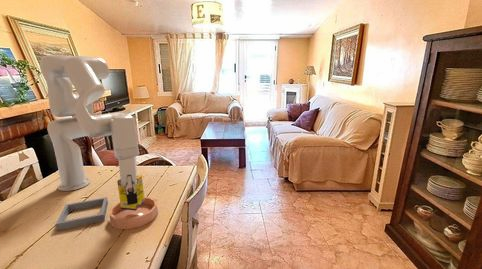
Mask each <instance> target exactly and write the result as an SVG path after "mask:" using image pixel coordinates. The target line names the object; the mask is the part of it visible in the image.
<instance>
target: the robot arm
mask: <svg viewBox="0 0 482 269" xmlns="http://www.w3.org/2000/svg"><path fill="white" fill-rule="evenodd" d="M39 70H40V72H41V74H42V77H43V78H44V80H45V82H46V85H47V95H48V96H47V97H48V105H49V110H50V113H51V115H53V116H54V117H57V118H59V119H54V120H51V121H50V122H49V123H48V124H47V128H46V129H47V133H48V135H49V137H50V141H51V143H52V145H53V150H54V154H55V158H56V164H57V168H58V174H59V178H60V179H59V180H60V183H59V184H58V185H57V190H58V191H62V192H71V191H75V190H79V189H82V188H85V187H87V186H88V185H90V182H91V180H90V178H87V177H86V174H85V168H84V161H83V157H82V156H83V155H82V151H81V148H80V145H78V144H77V143H76V142H75V141H73V139H74V140H75V139H79V138H84V137H88V138H90V139H98V138H103V137H109V136H111V138H112V145H113V153H114V158H115V159H118V168H119V175H120V179H121V187H125V186H126V191H127V194H126V196H127V204H128V205H131V204H136V203H138V200H137V192H136V190H135V185H136V184H137V175H138V168H137V167H138V166H137V158H136V157H138V156H139V155H140V151H139V144H138V134H137V126H136V119H135V117H134V115H130V114H125V113H122V112H110V113H102V114H95V115H94V104H93V103H94V102H96V101H98V100H99V99H101V98H102V97H103V96H104V94H105V90H106V89H105V87H104V85H103V83H102V82H101V80H106V79H107V78H108V77H109V75H110V68H109V66H108V63H107V62H106V61H105V60H104V59H103V58H101V57H96V56H94V57H93V56H83V55H66V54H64V55H63V54H48V55H44V56H42V58H40V62H39ZM73 87H74V88H73ZM73 89H75V91H76V92H77V93H74V92H73V91H74V90H73ZM65 117H67V118H65ZM131 176H132V179H131ZM132 181H133V183H134V184H132ZM127 183H128V185H127ZM132 186H133V188H134V189H133V188H132Z"/></svg>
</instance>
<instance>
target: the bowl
mask: <svg viewBox="0 0 482 269" xmlns="http://www.w3.org/2000/svg"><path fill="white" fill-rule="evenodd" d="M144 200H145V203H144V204H142V205H141V206H140V207H139V208H138V209H137V210H136V211H135V210H124V209H121V205H120V201H119V202H117V203H116V204H114V205H113V206H112V207H111V208H110V209H109V215H108V216H109V222H110V225H112V226H113V227H114V228H116V229H120V230H121V229H123V230H131V229H135V228H139V227H143V226H145V225H147V224H148V223H150V222H152V221H153V220H154V219H155V218H156V217H157V216H158V214H159V210H158V204H157V203H158V202H157V199H154V198H152V197H150V196H144Z"/></svg>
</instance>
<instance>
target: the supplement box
mask: <svg viewBox="0 0 482 269" xmlns="http://www.w3.org/2000/svg"><path fill="white" fill-rule="evenodd" d="M131 179H132V176H131ZM116 182H117V189H118V196H119V202H120V205H121V209H124V210H135V211H136V210H137V209H138V208H139V207H140V206H141V205H142V204H144V203H145V200H144V197H145V192H144V183H143V176H142V175H141V174H137V184H136V185H135V190H136V192H137V200H138V203H136V204H131V205H128V204H127V196H126V194H127V191H126V186H125V187H121V178H120V179H119V180H117V181H116ZM132 184H134V183H133V181H132ZM127 185H128V183H127ZM132 188H133V186H132ZM133 189H134V188H133Z"/></svg>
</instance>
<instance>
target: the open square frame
mask: <svg viewBox="0 0 482 269" xmlns="http://www.w3.org/2000/svg"><path fill="white" fill-rule="evenodd" d="M108 205H109V201H108V196H106V197H100V198H95V199H88V200H84V201H78V202H72V203H66V204H65V205H64V207H63V209H62V211H61V213H60V215H59V217H58V219H57V221H56V223H55V229H56V231H57V232H58V231H59V232H60V231H63V230H68V229H71V228H72V229H73V228H78V227H83V226H86V225H87V226H88V225H92V224H96V223H100V222H101V223H102V222H105V221H106V215H107V210H108V209H107V208H108ZM98 206H101V211H100V213H99V214H98V213H97V214H93V215H88V216H81V217H78V218H72V219H67V217H68V215H69V213H70V212H71V211H72V212H73V211H76V210H82V209H83V210H84V209H87V208H92V207H98Z"/></svg>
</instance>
